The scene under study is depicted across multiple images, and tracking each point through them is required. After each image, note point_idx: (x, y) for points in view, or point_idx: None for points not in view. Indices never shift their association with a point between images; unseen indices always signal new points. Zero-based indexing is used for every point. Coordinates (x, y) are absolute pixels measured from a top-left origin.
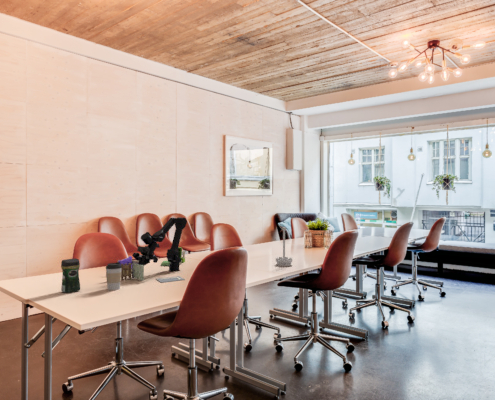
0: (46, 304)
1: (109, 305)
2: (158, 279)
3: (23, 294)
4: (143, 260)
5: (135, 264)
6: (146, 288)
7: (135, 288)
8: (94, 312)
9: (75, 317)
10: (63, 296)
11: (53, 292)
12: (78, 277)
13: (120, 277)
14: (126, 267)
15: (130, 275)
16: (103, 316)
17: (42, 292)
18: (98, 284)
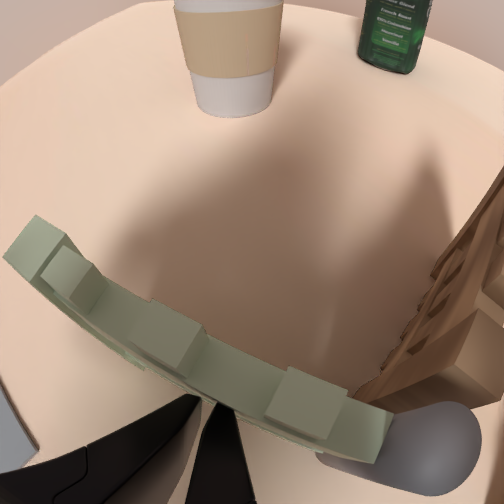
0: (305, 8)
1: (131, 30)
2: (3, 420)
3: (455, 50)
4: (7, 491)
5: (297, 374)
6: (41, 161)
7: (102, 138)
8: (145, 14)
9: (169, 2)
10: (339, 32)
11: (419, 55)
12: (369, 5)
13: (181, 41)
14: (458, 307)
15: (361, 395)
16: (116, 17)
17: (444, 57)
18: (414, 144)
